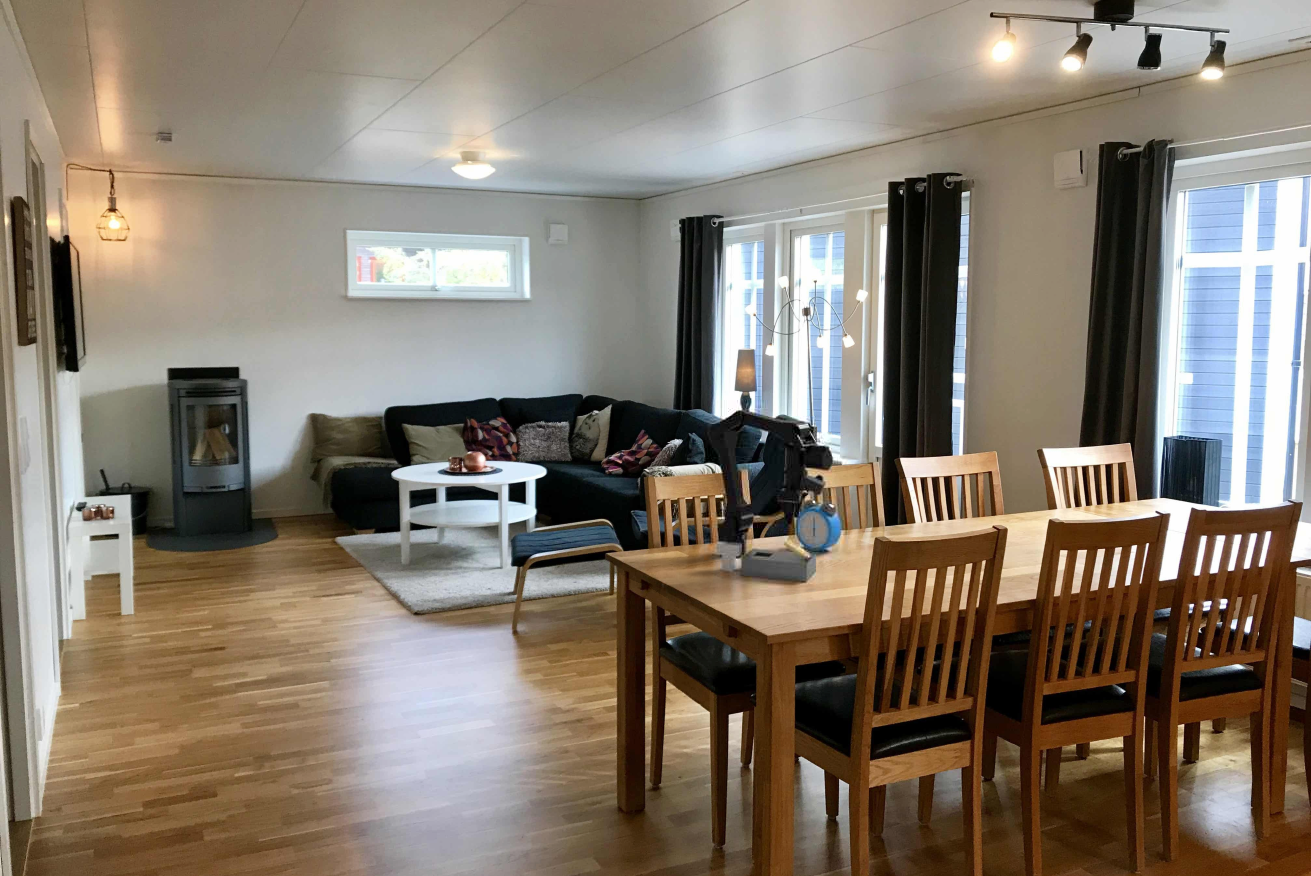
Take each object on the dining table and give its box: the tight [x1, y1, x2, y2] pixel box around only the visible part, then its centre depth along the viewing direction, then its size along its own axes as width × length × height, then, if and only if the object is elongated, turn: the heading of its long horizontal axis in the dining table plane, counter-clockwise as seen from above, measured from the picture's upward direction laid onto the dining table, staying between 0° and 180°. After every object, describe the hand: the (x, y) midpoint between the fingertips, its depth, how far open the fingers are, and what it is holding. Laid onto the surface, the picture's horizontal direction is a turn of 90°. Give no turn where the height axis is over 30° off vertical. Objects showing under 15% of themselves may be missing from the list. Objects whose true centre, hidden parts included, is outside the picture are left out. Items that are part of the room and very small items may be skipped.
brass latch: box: [783, 539, 812, 560], centre depth 281 cm, size 8×4×1 cm
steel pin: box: [715, 541, 742, 573], centre depth 287 cm, size 6×3×8 cm, turn 70°
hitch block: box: [740, 548, 817, 583], centre depth 283 cm, size 18×12×5 cm, turn 70°
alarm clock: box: [794, 499, 842, 554], centre depth 312 cm, size 13×6×15 cm, turn 48°
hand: (793, 520), depth 291 cm, fingers open, 9 cm apart
